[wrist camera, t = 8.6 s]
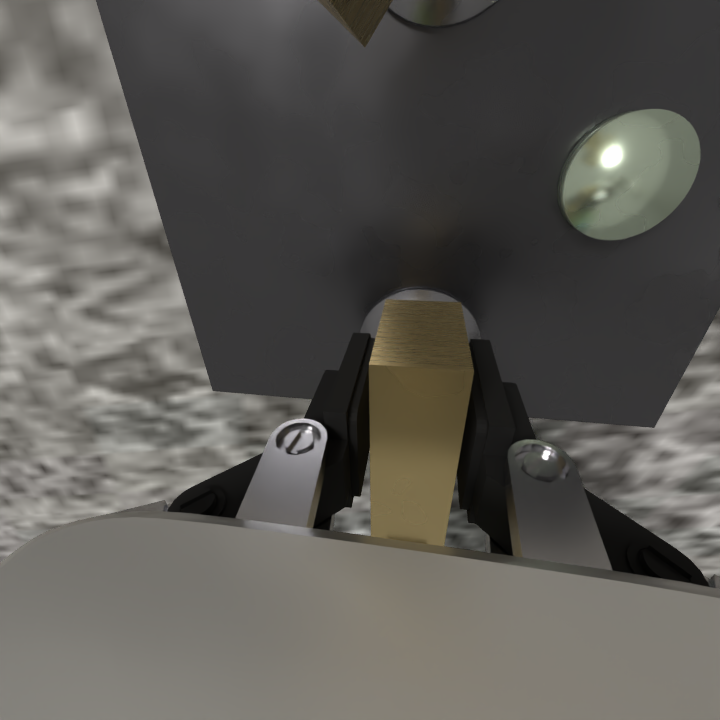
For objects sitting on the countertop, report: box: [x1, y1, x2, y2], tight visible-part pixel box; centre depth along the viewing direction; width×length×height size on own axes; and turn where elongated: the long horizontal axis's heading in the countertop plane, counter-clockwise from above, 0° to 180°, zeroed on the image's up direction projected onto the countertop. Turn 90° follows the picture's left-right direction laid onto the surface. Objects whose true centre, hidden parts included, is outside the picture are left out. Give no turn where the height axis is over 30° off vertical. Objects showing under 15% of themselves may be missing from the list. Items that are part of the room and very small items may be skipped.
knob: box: [369, 299, 474, 546], centre depth 10 cm, size 3×6×6 cm, turn 1°
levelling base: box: [96, 0, 720, 428], centre depth 11 cm, size 18×17×3 cm
